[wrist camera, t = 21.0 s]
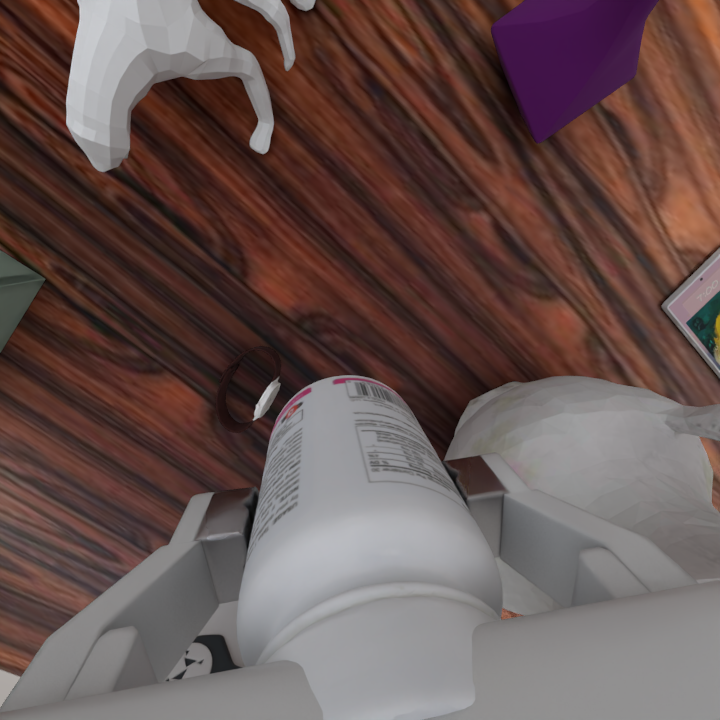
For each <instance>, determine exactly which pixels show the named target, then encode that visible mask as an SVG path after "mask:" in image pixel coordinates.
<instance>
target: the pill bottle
mask: <svg viewBox="0 0 720 720" xmlns="http://www.w3.org/2000/svg"><path fill="white" fill-rule="evenodd" d="M502 605H503V592H502V582H501V576H500V572H499V569H498V566H497V562H496V560H495V558H494V556H493V553H492V551H491V549H490V546H489V545H488V543H487V541H486V539H485V537H484V535H483V533H482V532H481V530H480V528H479V526H478V525H477V523H476V521H475V519H474V518H473V516H472V514H471V513H470V511H469V509H468V507H467V506H466V504H465V502H464V500H463V499H462V497H461V495H460V494H459V492H458V490H457V488H456V487H455V485H454V483H453V481H452V480H451V478H450V476H449V475H448V473H447V471H446V469H445V468H444V466H443V464H442V463H441V461H440V459H439V457H438V455H437V454H436V452H435V450H434V449H433V447H432V445H431V443H430V442H429V440H428V438H427V437H426V435H425V433H424V432H423V430H422V428H421V426H420V425H419V423H418V421H417V420H416V418H415V416H414V414H413V412H412V411H411V410H410V408H409V407H408V405H407V404H406V403H405V402H404V400H403V399H402V398H401V397H400V396H399V395H398V394H397V393H396V392H395V391H394V390H392V389H391V388H389V387H388V386H386V385H385V384H383V383H381V382H379V381H376V380H374V379H371V378H367V377H363V376H354V375H344V376H335V377H330V378H325V379H323V380H320V381H317V382H315V383H313V384H311V385H309V386H307V387H305V388H304V389H302V390H301V391H299V392H298V393H297V394H296V395H295V396H294V397H293V398H291V400H290V401H289V402H288V403H287V404H286V405H285V407H284V408H283V409H282V411H281V412H280V414H279V416H278V418H277V420H276V423H275V425H274V428H273V430H272V434H271V437H270V441H269V447H268V452H267V458H266V463H265V468H264V473H263V479H262V484H261V489H260V493H259V499H258V504H257V508H256V513H255V518H254V523H253V528H252V533H251V538H250V542H249V548H248V552H247V558H246V563H245V568H244V573H243V578H242V583H241V588H240V593H239V600H238V609H237V620H236V625H237V641H238V645H239V649H240V653H241V657H242V660H243V663H244V665H245V667H249V666H255V665H260V664H266V663H271V662H276V661H282V660H289V661H292V662H296V663H298V664H299V665H300V666H301V667H303V670H304V672H305V675H306V677H307V680H308V682H309V685H310V687H311V690H312V691H313V693H314V695H315V697H316V699H317V701H318V703H319V705H320V707H321V709H322V711H323V720H423V719H428V718H432V717H436V716H441V715H445V714H448V713H452V712H455V711H459V710H462V709H465V708H467V707H469V706H471V705H473V703H474V701H475V686H474V683H473V673H472V634H473V630H474V629H475V627H477V626H478V625H480V624H483V623H488V622H493V621H498V620H502V619H501V613H502Z"/></svg>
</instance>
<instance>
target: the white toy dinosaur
mask: <svg viewBox="0 0 720 720" xmlns="http://www.w3.org/2000/svg"><path fill="white" fill-rule="evenodd" d="M234 1H237V2H239V3H241V4H243V5H246V6H248V7H250V8H252V9H254V10H256V11H258V12H259V13H261V14H262V15H263V16H264V18H265V19H266V20H267V21H268V22H270V23H271V24H272V25H273V26H274V28H275V29H276V31H277V34H278V38H279V42H280V45H281V49H282V53H283V56H284V67H285V70H286V71H288V70H289V69H290V68H291V67H292V65H293V63H294V60H295V52H294V46H293V40H292V35H291V29H290V20H289V15H288V13H287V11H286V8H285V7H284V5H283V3H282V2H281V0H234ZM315 1H316V0H290V2H291V3H292V4H293V5H294V6H296V7H297V8H298V9H301V10H304V11H307V10H310V9H312V8H313V6H314V3H315ZM77 2H78V4H79V7H80V22H79V26H78V30H77V35H76V41H75V46H74V52H73V58H72V64H71V71H70V77H69V85H68V92H67V99H66V110H67V117H66V125H67V126H68V128H69V130H70V132H71V134H72V136H73V138H74V139H75V141H76V142H77V144H78V145H79V146H80V147H81V148H82V150H83V151H84V152H85V154H86V155H87V157H88V158H89V160H90V162H91V163H92V165H93V166H94V168H96V169H97V170H98V171H101V172H105V171H107V170H110V169H112V168H115V167H118V166H119V165H120V163H121V162H122V160H123V158H127V157H128V153H129V150H130V120H131V111H132V109H133V108H134V107H135V106H136V104H137V103H138V102H139V101H140V100H141V99H142V98H144V97H145V96H146V95H147V93H148V91H149V90H150V88H151V86H152V85H153V84H155V83H158V82H162V81H166V80H170V79H174V78H178V77H182V76H183V77H187V78H190V79H194V80H204V79H220V78H224V77H228V76H236V77H239V78H241V79H242V81H243V83H244V86H245V89H246V91H247V93H248V96H249V98H250V100H251V103H252V105H253V108H254V110H255V112H256V115H257V117H258V125H257V128H256V129H255V131H254V133H253V135H252V136H251V139H250V142H249V143H250V147H251V148H252V149H253V150H255V151H256V152H258V153H261V154H264V153H266V152H268V149H269V146H270V139H271V134H272V131H273V126H274V118H273V112H272V106H271V100H270V95H269V91H268V88H267V85H266V82H265V79H264V76H263V73H262V70H261V68H260V65H259V63H258V61H257V60H256V58H255V56H254V55H253V54H252V53H251V52H250V51H248V50H246V49H244V48H242V47H240V46H238V45H234V44H233V43H232V42H231V41H230V40H229V39H228V38H227V36H226V35H225V33H224V31H223V30H222V28H221V27H220V26H218V25H217V24H216V23H215V22H214V21H213V20H211V19H210V18H209V17H208V16H207V15H206V13H205V12H204V11H203V10H202V9H201V7H200V5H199V3H198V1H197V0H77Z"/></svg>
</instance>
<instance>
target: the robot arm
mask: <svg viewBox="0 0 720 720" xmlns="http://www.w3.org/2000/svg"><path fill="white" fill-rule="evenodd" d="M441 463H442V464H443V466H444V468H445V469H446V471H447V473H448V475H449V476H450V478H451V480H452V481H453V483H454V485H455V487H456V488H457V490H458V492H459V494H460V495H461V497H462V499H463V500H464V502H465V504H466V506H467V507H468V509H469V511H470V513H471V514H472V516H473V518H474V519H475V521H476V523H477V525H478V526H479V528H480V530H481V532H482V533H483V535H484V537H485V539H486V541H487V543H488V545H489V546H490V549H491V551H492V553H493V556H494V558H496V557H500V559H501V560H502V561H504V562H505V563H506V564H507V565H509V566H510V567H511V568H513V569H514V570H515V571H516V572H518V573H519V574H520V575H522V576H523V577H524V578H526V579H527V580H528V581H529V582H531V583H532V584H533V585H535V586H536V587H537V588H538V589H540V590H541V591H542V592H544V593H545V594H546V595H547V596H549V597H550V598H551V599H553V600H554V601H555V602H556V603H558V604H559V605H560V606H562V607H563V609H558V610H553V611H547V612H542V613H536V614H531V615H526V616H520V617H515V618H509V619H504V620H498V621H493V622H488V623H483V624H480V625H478V626H477V627H475V629H474V630H473V634H472V673H473V683H474V686H475V701H474V703H473V705H471V706H469V707H467V708H465V709H462V710H459V711H455V712H452V713H448V714H445V715H441V716H436V717H432V718H428V719H423V720H720V580H715V581H710V582H704V583H698V582H697V581H696V580H695V579H694V578H692V577H691V576H690V575H689V574H688V573H687V572H686V571H685V570H683V569H682V568H681V567H680V566H679V565H678V564H677V563H676V562H674V561H673V560H672V559H671V558H670V557H669V556H668V555H667V554H666V553H664V552H663V551H662V550H661V549H660V548H659V547H658V546H657V545H655V544H654V543H653V542H652V541H651V540H650V539H649V538H648V537H646V536H643V535H641V534H639V533H636V532H634V531H632V530H629V529H627V528H625V527H623V526H620V525H618V524H616V523H613V522H611V521H609V520H607V519H604V518H602V517H600V516H597V515H595V514H593V513H590V512H588V511H586V510H584V509H581V508H579V507H577V506H574V505H572V504H570V503H568V502H565V501H563V500H561V499H558V498H556V497H554V496H551V495H549V494H547V493H545V492H542V491H540V490H538V489H535V490H531V489H530V488H529V487H528V486H527V485H526V483H525V482H524V481H523V480H522V479H521V478H520V477H519V476H518V474H517V473H516V472H515V471H514V470H513V469H512V468H511V467H510V465H509V464H508V463H507V462H506V461H505V460H504V459H503V458H502V456H501V455H500V454H499V453H496V452H493V453H487V454H481V455H477V456H472V457H466V458H459V459H452V460H446V461H441ZM258 499H259V492H258V489H257V488H256V487H251V488H242V489H234V490H226V491H217V492H210V493H203V494H196V495H194V496H193V497H192V498H191V499H190V501H189V503H188V505H187V508H186V510H185V512H184V514H183V516H182V518H181V520H180V522H179V524H178V526H177V528H176V530H175V532H174V534H173V536H172V539H171V541H170V543H169V545H166V546H161V547H160V548H159V549H158V550H156V551H155V552H154V553H153V554H151V555H150V556H149V557H148V558H146V559H145V560H144V561H143V562H141V563H140V564H139V565H138V566H136V567H135V568H134V569H133V570H131V571H130V572H129V573H128V574H126V575H125V576H124V577H123V578H121V579H120V580H119V581H118V582H117V583H115V584H114V585H113V586H112V587H110V588H109V589H108V590H107V591H105V592H104V593H103V594H102V595H100V596H99V597H98V598H97V599H95V600H94V601H93V602H92V603H90V604H89V605H88V606H87V607H85V608H84V609H83V610H82V611H80V612H79V613H78V614H77V615H75V616H74V617H73V618H72V619H70V620H69V621H68V622H67V623H65V624H64V625H63V626H62V627H61V628H59V629H58V630H57V631H56V632H54V633H53V634H52V635H51V636H49V637H48V638H47V639H46V641H45V642H44V644H43V645H42V647H41V648H40V650H39V651H38V653H37V654H36V656H35V657H34V659H33V660H32V662H31V663H30V665H29V666H28V667H27V669H26V670H25V672H24V673H23V675H22V676H21V678H20V680H19V681H18V682H17V684H16V685H15V687H14V688H13V690H12V691H11V693H10V694H9V696H8V697H7V699H6V700H5V702H4V703H3V704H2V706H1V707H0V720H323V711H322V709H321V707H320V705H319V703H318V701H317V699H316V697H315V695H314V693H313V691H312V690H311V687H310V685H309V682H308V680H307V677H306V675H305V672H304V670H303V667H301V666H300V665H299V664H298V663H296V662H292V661H289V660H282V661H276V662H271V663H266V664H260V665H255V666H249V667H245V665H244V663H243V660H242V657H241V653H240V649H239V645H238V641H237V625H236V620H237V609H238V600H239V593H240V588H241V583H242V578H243V573H244V568H245V563H246V558H247V552H248V548H249V542H250V538H251V533H252V528H253V523H254V518H255V513H256V508H257V504H258Z"/></svg>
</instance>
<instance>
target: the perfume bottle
mask: <svg viewBox="0 0 720 720" xmlns="http://www.w3.org/2000/svg"><path fill="white" fill-rule="evenodd" d="M658 1H659V0H525V1H523V2H522V3H521V4H519V5H518V6H517V7H515V8H514V9H513V10H511V11H510V12H509V13H507V14H506V15H505V16H503V17H502V18H501V19H499V20H498V21H497V22H495V23H494V24H493V26H492V27H491V34H492V37H493V41H494V44H495V47H496V51H497V54H498V57H499V61H500V64H501V67H502V69H503V72H504V74H505V77H506V79H507V81H508V84H509V86H510V89H511V91H512V94H513V96H514V99H515V101H516V104H517V106H518V109H519V111H520V114H521V116H522V118H523V120H524V122H525V124H526V126H527V128H528V130H529V131H530V133H531V135H532V137H533V139H534V141H535V142H536V143H541V142H542V141H544V140H545V139H547V138H548V137H550V136H551V135H552V134H554V133H555V132H557V131H558V130H560V129H561V128H562V127H564V126H565V125H567V124H568V123H570V122H571V121H572V120H574V119H575V118H577V117H578V116H580V115H581V114H582V113H584V112H585V111H587V110H588V109H590V108H591V107H592V106H594V105H595V104H597V103H598V102H600V101H601V100H602V99H604V98H605V97H607V96H608V95H610V94H611V93H612V92H614V91H615V90H617V89H618V88H620V87H621V86H622V85H624V84H625V83H627V82H628V81H630V80H631V79H632V78H633V77H634V76H635V75H636V70H637V64H638V57H639V51H640V45H641V39H642V34H643V30H644V25H645V20H646V19H647V17H648V15H649V14H650V12H651V11H652V9H653V8H654V6H655V5H656V3H657V2H658Z"/></svg>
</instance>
